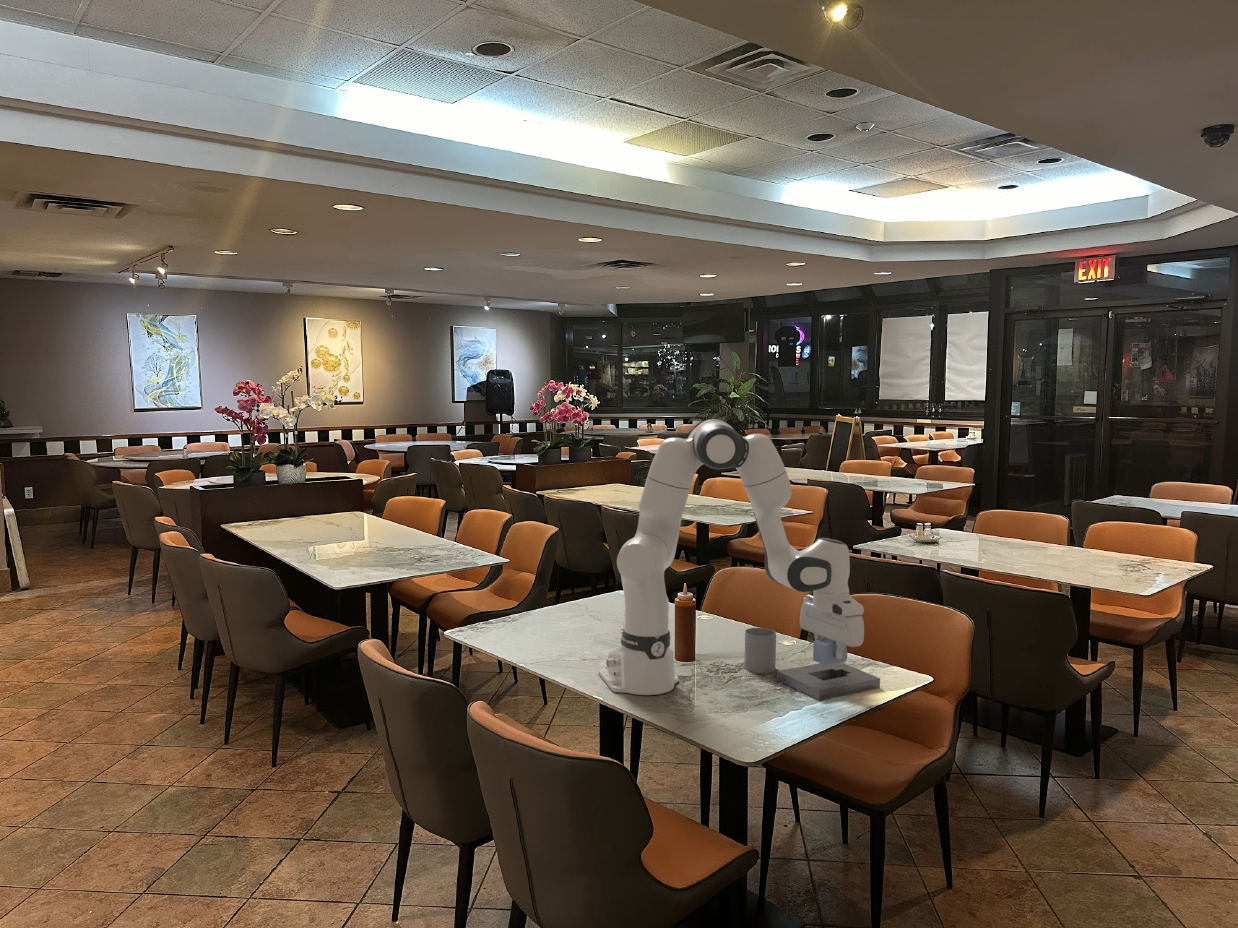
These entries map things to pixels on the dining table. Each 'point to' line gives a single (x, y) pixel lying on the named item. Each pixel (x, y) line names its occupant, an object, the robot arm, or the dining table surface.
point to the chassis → (841, 684)
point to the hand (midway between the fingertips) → (829, 654)
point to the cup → (760, 650)
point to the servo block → (827, 652)
